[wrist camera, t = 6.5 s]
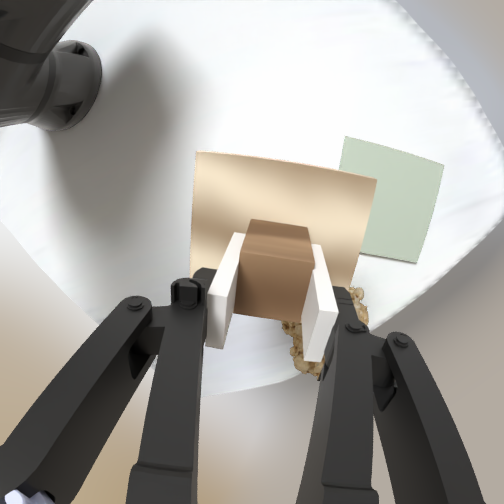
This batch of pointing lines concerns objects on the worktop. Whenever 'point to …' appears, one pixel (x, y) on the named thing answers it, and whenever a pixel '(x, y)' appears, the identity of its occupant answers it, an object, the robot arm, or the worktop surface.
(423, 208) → the mat
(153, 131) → the worktop surface
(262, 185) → the lid
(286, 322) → the mineral formation
